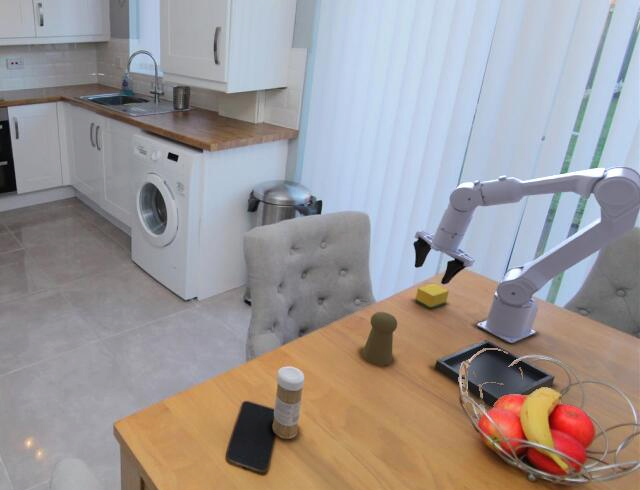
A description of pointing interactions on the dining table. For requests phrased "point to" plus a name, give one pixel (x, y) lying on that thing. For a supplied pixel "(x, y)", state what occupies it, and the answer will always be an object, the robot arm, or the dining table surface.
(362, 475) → the dining table surface
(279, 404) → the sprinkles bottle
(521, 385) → the tray
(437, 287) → the sponge
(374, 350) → the olive pawn
